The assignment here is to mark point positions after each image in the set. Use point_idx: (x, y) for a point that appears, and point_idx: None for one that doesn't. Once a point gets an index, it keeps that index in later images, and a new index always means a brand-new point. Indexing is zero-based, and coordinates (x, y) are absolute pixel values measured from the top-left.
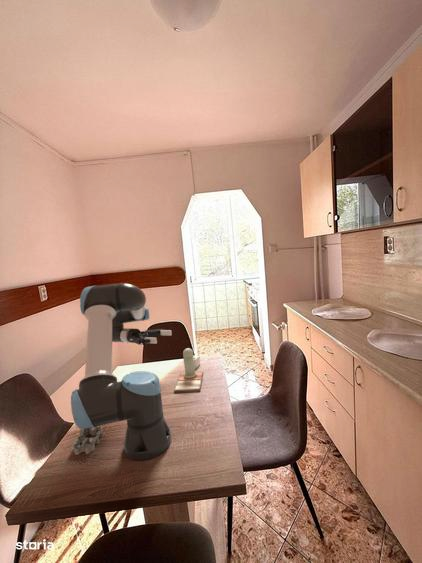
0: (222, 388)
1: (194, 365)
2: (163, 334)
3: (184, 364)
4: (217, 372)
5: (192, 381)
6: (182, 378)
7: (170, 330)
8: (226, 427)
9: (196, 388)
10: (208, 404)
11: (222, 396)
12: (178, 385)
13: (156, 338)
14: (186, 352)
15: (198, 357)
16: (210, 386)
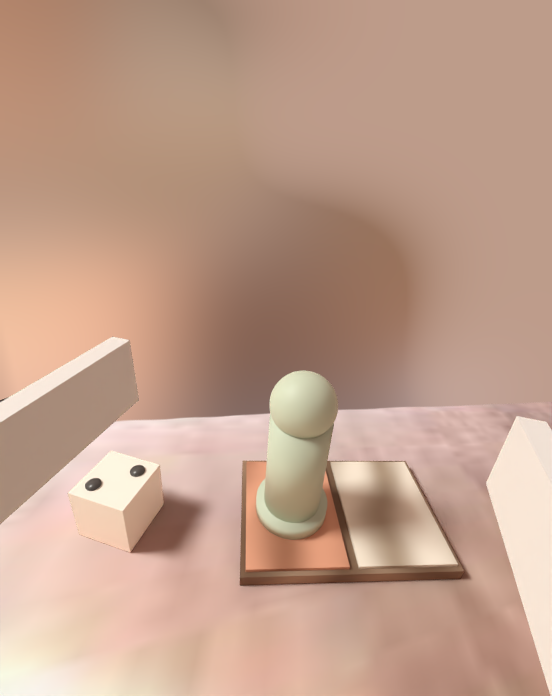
0: (364, 412)
1: (156, 501)
2: (34, 478)
3: (315, 474)
4: (239, 424)
5: (352, 491)
6: (324, 545)
7: (120, 340)
8: (541, 409)
9: (408, 471)
10: (473, 442)
11: (412, 413)
12: (408, 552)
13: (515, 425)
14: (334, 393)
15: (122, 457)
16: (357, 440)
